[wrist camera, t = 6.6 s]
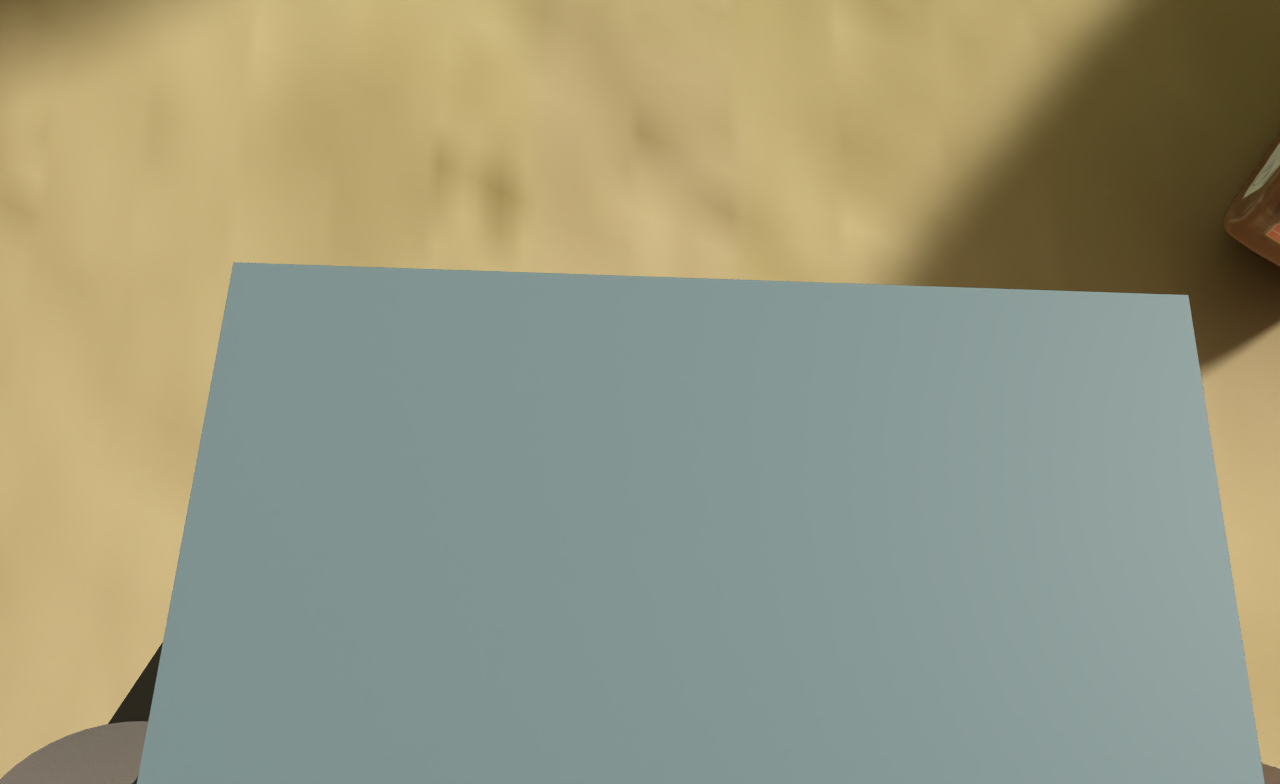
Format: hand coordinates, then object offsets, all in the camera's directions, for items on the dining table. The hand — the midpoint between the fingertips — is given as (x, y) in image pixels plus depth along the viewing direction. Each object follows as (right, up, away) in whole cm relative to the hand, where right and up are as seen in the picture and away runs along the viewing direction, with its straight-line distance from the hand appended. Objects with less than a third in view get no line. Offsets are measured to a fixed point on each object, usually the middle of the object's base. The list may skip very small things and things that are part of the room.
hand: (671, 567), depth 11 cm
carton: (0, -3, +4) cm, 5 cm away
